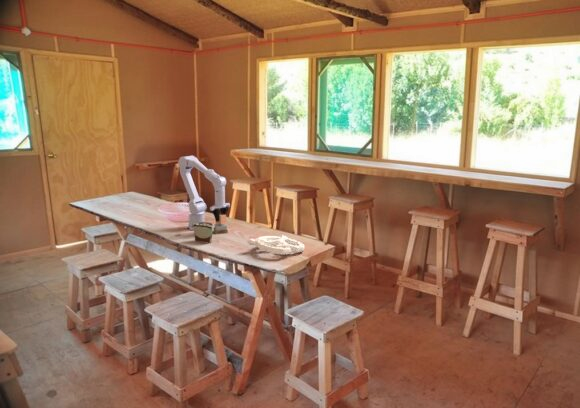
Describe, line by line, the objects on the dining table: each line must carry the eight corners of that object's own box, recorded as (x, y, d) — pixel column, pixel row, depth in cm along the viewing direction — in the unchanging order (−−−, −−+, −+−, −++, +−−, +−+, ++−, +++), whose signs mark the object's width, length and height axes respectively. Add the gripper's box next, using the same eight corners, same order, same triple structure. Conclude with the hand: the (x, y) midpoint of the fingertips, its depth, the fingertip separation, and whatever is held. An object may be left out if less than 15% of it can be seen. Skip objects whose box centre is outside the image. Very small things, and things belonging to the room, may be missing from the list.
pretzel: (281, 242, 248) (282, 231, 247) (311, 254, 232) (313, 242, 231) (242, 246, 228) (243, 234, 227) (272, 260, 212) (274, 247, 211)
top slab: (216, 230, 256) (216, 226, 256) (214, 227, 262) (214, 223, 261) (226, 229, 258) (226, 225, 258) (224, 227, 264) (224, 223, 263)
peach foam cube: (220, 224, 256) (220, 216, 255) (215, 223, 259) (215, 215, 257) (226, 223, 260) (226, 214, 258) (220, 221, 262) (220, 213, 261)
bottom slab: (215, 234, 256) (215, 230, 256) (213, 231, 262) (213, 227, 262) (227, 233, 258) (227, 229, 258) (225, 230, 265) (225, 226, 264)
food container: (218, 240, 244) (217, 223, 242) (212, 243, 239) (212, 225, 237) (198, 237, 248) (198, 220, 246) (192, 240, 243) (192, 223, 240)
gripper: (216, 200, 248) (216, 223, 251) (233, 196, 259) (233, 218, 262) (207, 199, 252) (207, 221, 255) (224, 195, 263) (225, 217, 266)
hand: (220, 220), depth 259 cm, fingers closed on peach foam cube, 4 cm apart
